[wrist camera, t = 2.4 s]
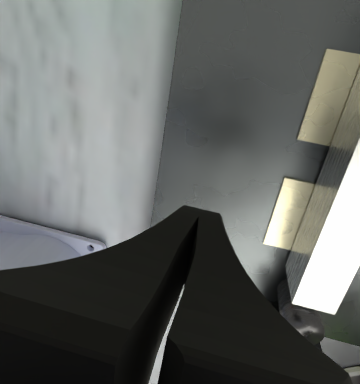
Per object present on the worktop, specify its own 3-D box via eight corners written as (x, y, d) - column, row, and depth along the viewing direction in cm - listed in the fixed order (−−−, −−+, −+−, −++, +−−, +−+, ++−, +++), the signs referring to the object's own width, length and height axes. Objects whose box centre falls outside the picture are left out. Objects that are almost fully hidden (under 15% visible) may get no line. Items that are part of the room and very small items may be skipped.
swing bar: (272, 299, 19) (276, 340, 16) (385, -1, 12) (424, -18, 10) (306, 308, 19) (316, 351, 16) (439, 7, 12) (495, -7, 9)
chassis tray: (147, 275, 22) (122, 329, 18) (197, -63, 14) (174, -117, 10) (421, 349, 20) (470, 430, 15) (664, 1, 12) (903, -31, 8)
